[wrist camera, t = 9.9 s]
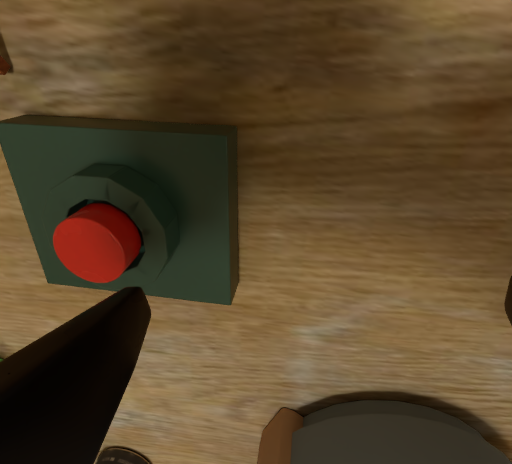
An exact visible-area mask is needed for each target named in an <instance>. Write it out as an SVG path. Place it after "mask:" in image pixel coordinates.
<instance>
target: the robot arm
mask: <svg viewBox="0 0 512 464" xmlns="http://www.w3.org/2000/svg"><path fill="white" fill-rule="evenodd" d="M505 311H506V314H507V316H508V318H509V321H510V323H511V325H512V276H511V278H510V281H509V285H508V290H507V294H506V298H505ZM150 318H151V310H150V306H149V304H148V301H147V299H146V296H145V293H144V291H143V289H142V288H141V287H139V286H134V287H125V288H123V289H121V290H120V291H118V292H116V293H115V294H113V295H111V296H110V297H108V298H106V299H105V300H103V301H101V302H100V303H98V304H96V305H95V306H93V307H91V308H90V309H88V310H86V311H85V312H83V313H81V314H80V315H78V316H76V317H75V318H73V319H71V320H69V321H68V322H66V323H64V324H63V325H61V326H59V327H58V328H56V329H54V330H53V331H51V332H49V333H48V334H46V335H44V336H43V337H41V338H39V339H38V340H36V341H34V342H33V343H31V344H29V345H28V346H26V347H24V348H23V349H21V350H19V351H18V352H16V353H14V354H13V355H11V356H9V357H7V358H6V359H4V360H2V361H1V362H0V464H94V462H95V459H96V457H97V455H98V452H99V450H100V448H101V445H102V443H103V441H104V438H105V436H106V434H107V432H108V429H109V427H110V425H111V422H112V420H113V418H114V415H115V413H116V411H117V408H118V406H119V404H120V401H121V399H122V397H123V394H124V392H125V390H126V387H127V385H128V383H129V380H130V378H131V376H132V373H133V371H134V368H135V365H136V363H137V360H138V356H139V353H140V350H141V347H142V344H143V341H144V337H145V334H146V331H147V328H148V325H149V322H150Z"/></svg>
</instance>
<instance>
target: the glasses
mask: <svg viewBox="0 0 512 464" xmlns="http://www.w3.org/2000/svg"><path fill="white" fill-rule="evenodd" d="M10 67H11V66H10V65H9V64H8V63H7V62H6V61H5V60H4V59H3V58H2V57H1V56H0V75H5V74H6V73H7V71H8V70H9V69H10Z"/></svg>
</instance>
